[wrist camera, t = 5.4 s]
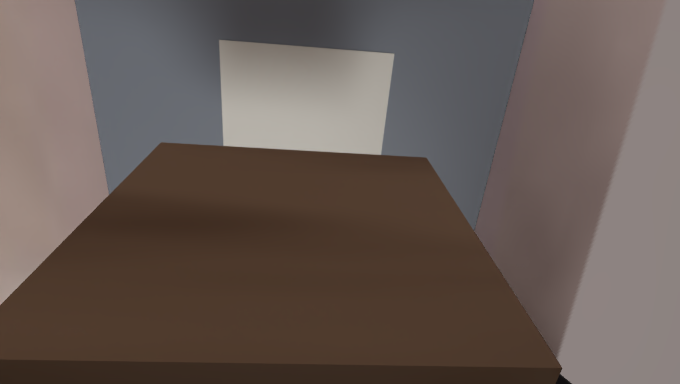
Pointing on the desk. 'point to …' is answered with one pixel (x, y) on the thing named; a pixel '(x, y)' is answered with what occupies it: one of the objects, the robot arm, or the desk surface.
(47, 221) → the desk surface
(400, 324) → the walnut block
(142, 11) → the blueprint board
